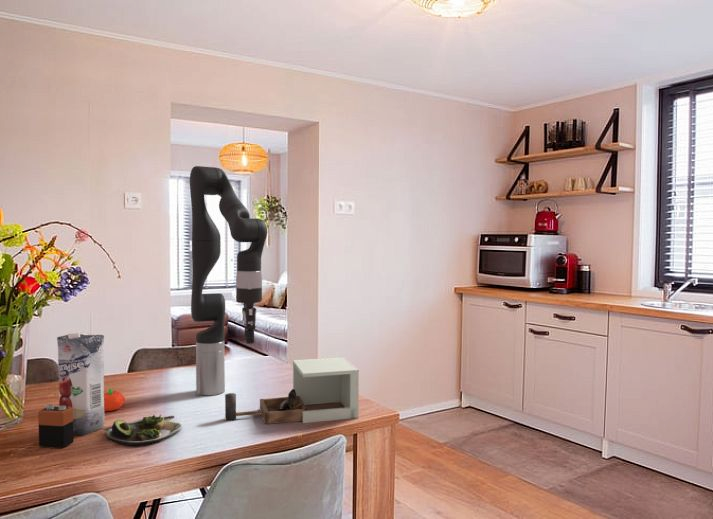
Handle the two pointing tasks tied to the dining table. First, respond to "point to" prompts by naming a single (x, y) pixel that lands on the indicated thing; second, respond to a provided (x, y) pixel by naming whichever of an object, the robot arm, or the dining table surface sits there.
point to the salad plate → (142, 431)
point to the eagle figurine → (290, 402)
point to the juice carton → (82, 379)
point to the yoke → (264, 405)
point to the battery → (55, 426)
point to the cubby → (327, 387)
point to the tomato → (113, 400)
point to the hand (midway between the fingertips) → (249, 340)
